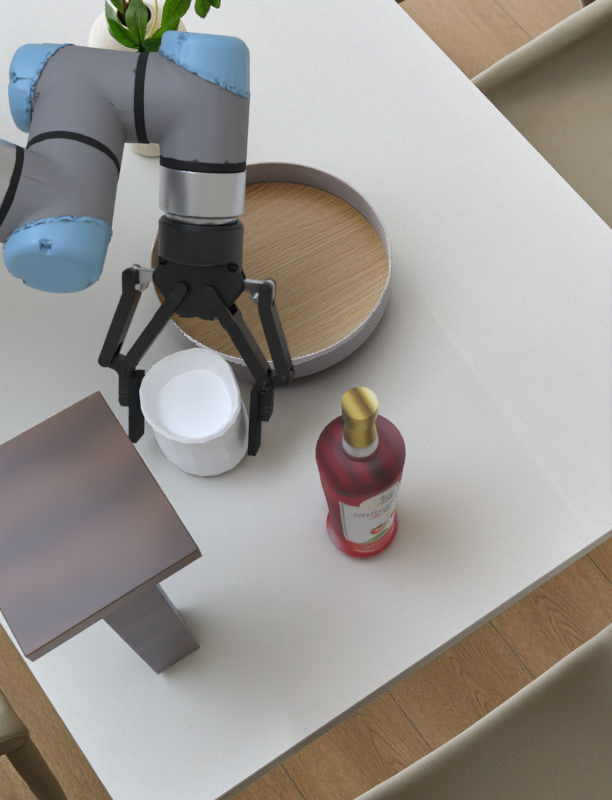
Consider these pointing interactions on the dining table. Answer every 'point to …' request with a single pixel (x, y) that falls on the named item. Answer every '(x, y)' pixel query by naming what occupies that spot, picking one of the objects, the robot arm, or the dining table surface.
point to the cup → (196, 411)
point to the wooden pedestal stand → (88, 538)
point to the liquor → (361, 475)
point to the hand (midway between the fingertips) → (195, 444)
